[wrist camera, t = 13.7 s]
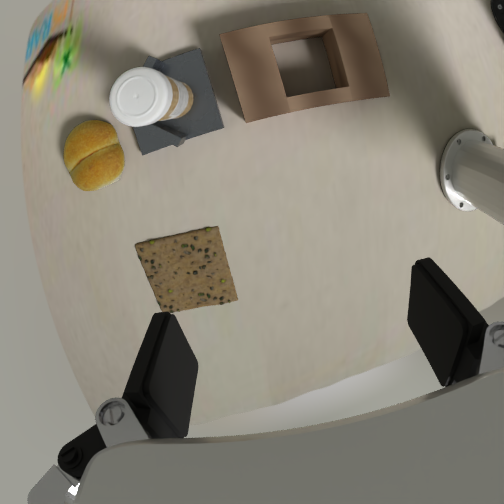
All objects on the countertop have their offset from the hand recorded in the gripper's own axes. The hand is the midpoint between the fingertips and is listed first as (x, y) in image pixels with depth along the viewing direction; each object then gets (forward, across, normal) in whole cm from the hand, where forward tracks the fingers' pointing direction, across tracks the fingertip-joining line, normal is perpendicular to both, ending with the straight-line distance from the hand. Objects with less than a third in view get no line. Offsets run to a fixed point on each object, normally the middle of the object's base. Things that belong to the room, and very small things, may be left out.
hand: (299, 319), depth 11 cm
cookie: (+27, +14, +11) cm, 32 cm away
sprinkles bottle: (+26, +8, -11) cm, 29 cm away
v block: (+26, +8, -11) cm, 30 cm away
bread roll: (+26, +20, -8) cm, 34 cm away
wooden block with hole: (+27, -7, -12) cm, 30 cm away
